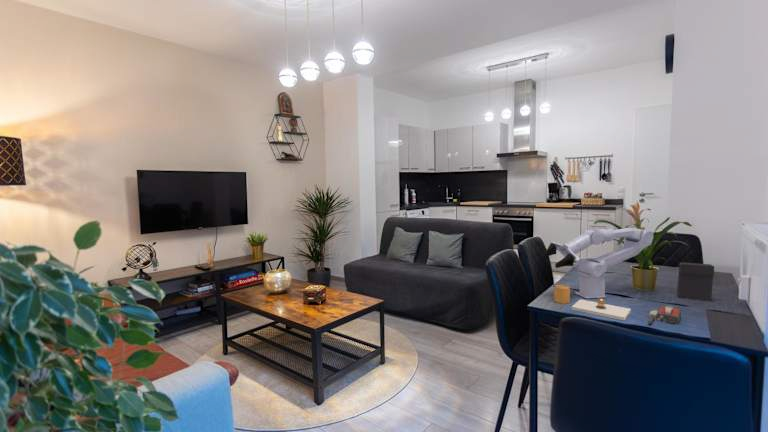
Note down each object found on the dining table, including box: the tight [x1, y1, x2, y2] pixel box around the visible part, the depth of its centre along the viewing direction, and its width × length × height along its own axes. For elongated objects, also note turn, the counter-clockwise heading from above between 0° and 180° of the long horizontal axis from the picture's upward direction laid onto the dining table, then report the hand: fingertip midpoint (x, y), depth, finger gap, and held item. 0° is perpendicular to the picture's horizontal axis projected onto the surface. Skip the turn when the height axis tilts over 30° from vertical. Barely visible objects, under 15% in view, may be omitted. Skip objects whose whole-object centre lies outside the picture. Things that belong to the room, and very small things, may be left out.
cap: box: [553, 283, 571, 304], centre depth 159 cm, size 6×6×6 cm
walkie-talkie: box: [647, 305, 682, 325], centre depth 138 cm, size 9×4×20 cm
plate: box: [570, 297, 632, 322], centre depth 148 cm, size 18×12×5 cm, turn 48°
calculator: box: [676, 262, 715, 301], centre depth 161 cm, size 11×4×15 cm, turn 65°
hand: (549, 261), depth 160 cm, fingers open, 7 cm apart
